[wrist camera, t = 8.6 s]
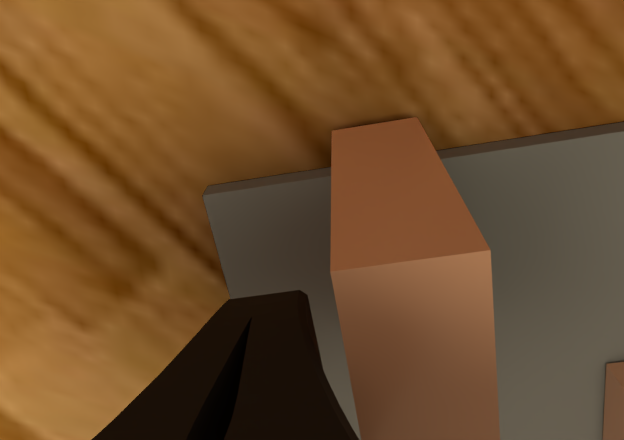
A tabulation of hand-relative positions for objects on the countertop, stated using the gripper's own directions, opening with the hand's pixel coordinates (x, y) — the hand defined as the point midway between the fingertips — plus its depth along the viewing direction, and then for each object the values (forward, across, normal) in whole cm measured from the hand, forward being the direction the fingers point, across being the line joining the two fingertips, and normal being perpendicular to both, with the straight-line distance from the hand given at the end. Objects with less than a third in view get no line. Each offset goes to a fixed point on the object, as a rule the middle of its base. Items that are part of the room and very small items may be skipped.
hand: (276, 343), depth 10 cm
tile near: (+4, -2, 0) cm, 4 cm away
